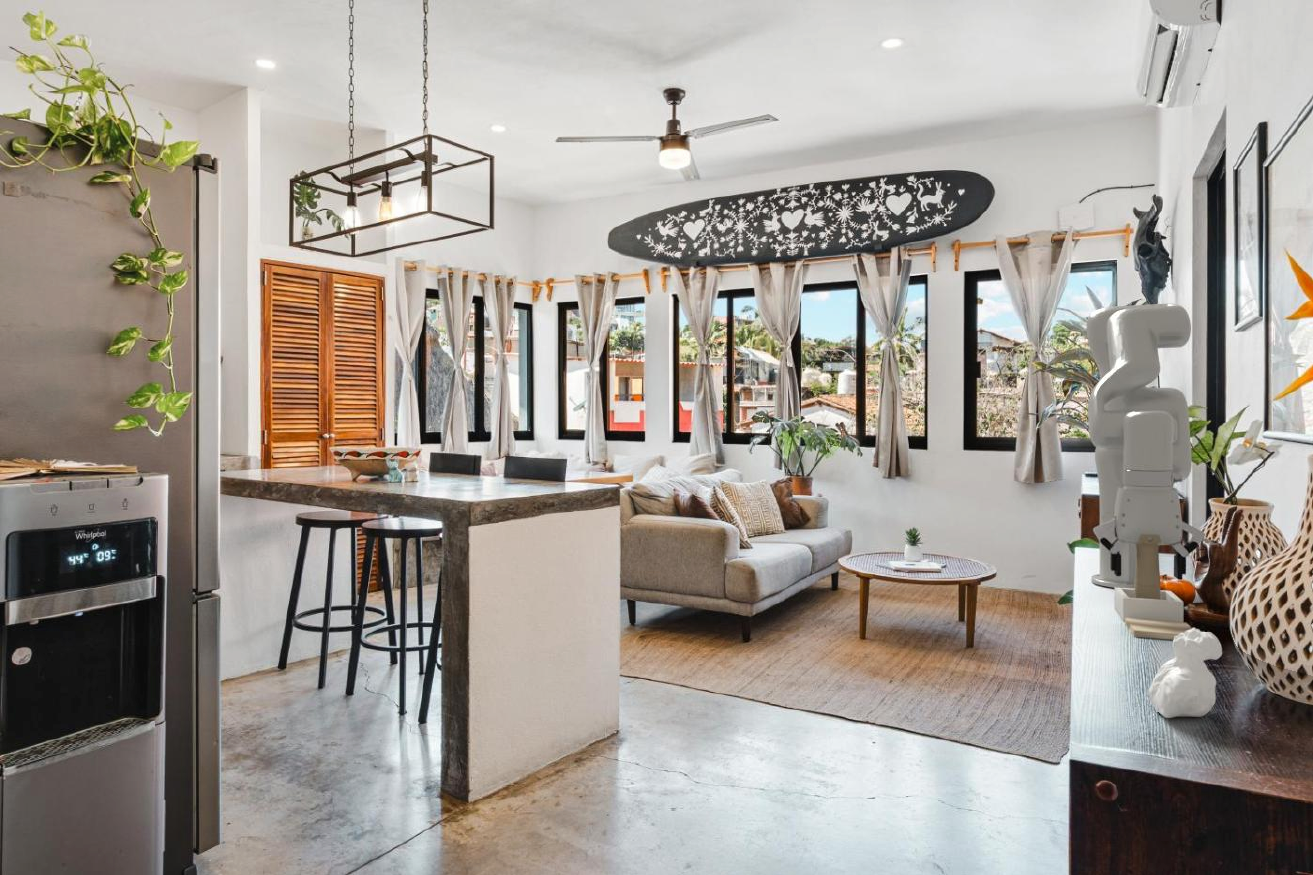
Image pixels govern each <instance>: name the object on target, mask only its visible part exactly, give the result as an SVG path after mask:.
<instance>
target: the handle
mask: <svg viewBox="0 0 1313 875" xmlns="http://www.w3.org/2000/svg"><path fill="white" fill-rule="evenodd" d="M1150 537H1151V538H1152V539H1153V540H1152V541H1149V540H1148V538H1150ZM1138 541H1139V542H1141V544H1135V545H1136V549H1137V555H1136V571H1135V598H1142V599H1158V600H1160V594H1161V593H1160V592H1161V589H1162V587H1161V573H1160V571H1161V570H1160V559H1159V558H1160V556H1159V555H1160V554H1159V551H1160V547H1161V545H1158V543H1161V539H1160V536H1159V535H1143V534H1141V535H1140V537H1139V540H1138Z"/></svg>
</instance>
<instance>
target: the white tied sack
mask: <svg viewBox="0 0 1313 875" xmlns="http://www.w3.org/2000/svg"><path fill="white" fill-rule="evenodd" d="M1191 628H1192V629H1190V630H1187V631H1185V633H1180V634H1179V635H1177V636H1174V640H1172V645H1171V648H1172V651H1173V653H1174V654H1175V656H1174V657H1173V658H1172V659H1170V660H1168V661H1166V662H1165V663H1164V664H1162V665H1161V666H1160V668H1159V669H1158V672H1157V673H1156V674H1155V676H1154V678H1153V679H1152V682H1151V685H1150V687H1149V689H1148V693H1147V694H1148V698H1149V700H1150V703H1151V704H1152V705H1153V708H1154V710H1156V711H1157V712H1159V713H1160V715H1161V716H1162V717H1164V718H1166V719H1171V718H1176V717H1193V718H1195V717H1197V718H1199V717H1200V718H1201V717H1203V716H1204V717H1205V715H1206V714H1208V713H1209V712H1210V711H1211V709H1212V708H1213V706H1214V705H1215V703H1216V686H1217V680H1216V677H1215V676H1214V675H1213V674H1212V673H1211V671H1210V670H1209V669H1208V666H1207V664H1206V663H1205V662H1204V661H1207V660H1215V661H1216V660H1219V659H1220V658H1221V657H1222V656H1223V648H1222V644H1221V642H1220V640H1219V638H1218V637H1217V636H1216V635H1215V634H1214V633H1212V632H1210V631H1207V632H1205V631H1201V630H1200V629H1199V628H1196V627H1191ZM1156 711H1155V712H1156ZM1157 712H1156V713H1157ZM1159 713H1158V714H1159Z"/></svg>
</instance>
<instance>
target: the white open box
mask: <svg viewBox="0 0 1313 875" xmlns="http://www.w3.org/2000/svg"><path fill="white" fill-rule="evenodd" d="M1113 590H1114V597H1113V598H1114V601H1113V602H1114V607H1113V609H1114V611H1115V612H1116V613H1117V615H1118V616H1119V618H1121V620H1122V621H1123V622H1125V618H1132V619H1146V620H1160V621H1174V622H1184V601H1183V600H1182V599H1181V598H1179V597H1178V596H1177V595H1176V594H1175V593H1174V592H1172V590H1165V589H1164V590H1161V589H1160V590H1161V592H1160V593H1161V594H1160V600H1158V599H1142V598H1135V589H1131V588H1115V587H1114V588H1113Z"/></svg>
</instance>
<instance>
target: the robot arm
mask: <svg viewBox="0 0 1313 875" xmlns="http://www.w3.org/2000/svg"><path fill="white" fill-rule="evenodd" d="M1191 334H1192V323H1191V319H1190V316H1189V314H1188V312H1187V310H1186V309H1185V308H1184V306H1182V305H1179V304H1175V303H1155V304H1153V303H1152V304H1134V305H1115V306H1108V307H1103V308H1099V309H1097V310H1095V311H1093V312H1092V313H1090V314H1089V316H1088V318H1087V321H1086V337H1087V343H1088V346H1089V350H1090V353H1091V355H1092V357H1093V360H1094V361H1095V364H1096V365H1097V369H1098V372H1099V373H1098V374H1099V381H1098V382H1097V383H1096V385H1095V386H1094V387H1093V389H1092V391H1091V393H1090V395H1089V397H1088V398H1089V400H1088V403H1087V417H1088V419H1087V420H1088V432H1089V439H1090V441H1091V443H1092V444H1093V446H1094V447H1095V450H1094V461H1095V467H1096V472H1097V473H1096V474H1097V480H1098V490H1099V492H1098V493H1099V494H1098V496H1099V524H1098V525H1097V526H1094V527H1093V529H1092V531H1093V533H1094V535H1095V536H1096V538H1097V539H1098V542H1099V574H1093V575H1092V576H1091V577H1090V578H1091V582H1092V583H1093V584H1095V585H1098V586H1102V587H1106V588H1112V589H1114V587H1115V588H1131V589H1134V588H1135V571H1136V555H1137V549H1136V545H1135V544H1141V542H1139V541H1138V540H1139V537H1140V535H1141V534H1143V535H1159V536H1160V539H1161V543H1158V545H1160V546H1170V547H1172V548H1173V550H1175V554H1174V555H1173V577H1174V578H1175V579H1177V580H1178V581H1179V580H1181V581H1182V580H1183V575H1187V557H1189V555H1190V554H1191V553H1192V552H1194V551H1195V550H1196V549H1198V547H1199V545H1200V544H1201V543H1202V541H1203V539H1204V538H1205V537H1206V533H1205V532H1204V531H1202V530H1200V529H1198V528H1196V527H1194V526H1193V525H1190V524H1188V523H1186V522H1185V521H1183V520H1182V511H1181V503H1180V497H1179V492H1178V489H1177V487H1176V488H1175V487H1174V486H1175V485H1174V484H1175V483H1178V482H1179V483H1182V482H1183V481H1185V480H1187V479H1188V478H1189V476H1190V475H1191V472H1192V466H1193V464H1192V461H1193V460H1192V445H1191V428H1190V416H1189V406H1188V403H1187V402H1188V401H1187V398H1186V397H1185V395H1184V393H1183V392H1182V391H1181V390H1180V389H1177V388H1174V387H1148V385H1150V384H1151V383H1153V382H1154V381H1155V380H1156V379H1157V378H1158V377H1159V375H1160V373H1161V363H1160V355H1159V349H1171V348H1174V349H1175V348H1182V347H1184V346H1186V344H1188V342H1189V340H1190V337H1191ZM1183 531H1185V532H1187V533H1188V534H1191V536H1192V537H1191V539H1190V540H1189V541H1188V542H1187V543H1185V544H1184V545H1183V544H1182V543H1181V542H1182V540H1183ZM1148 540H1149V541H1152V540H1153V539H1152V538H1151V537H1150V538H1148Z"/></svg>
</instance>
